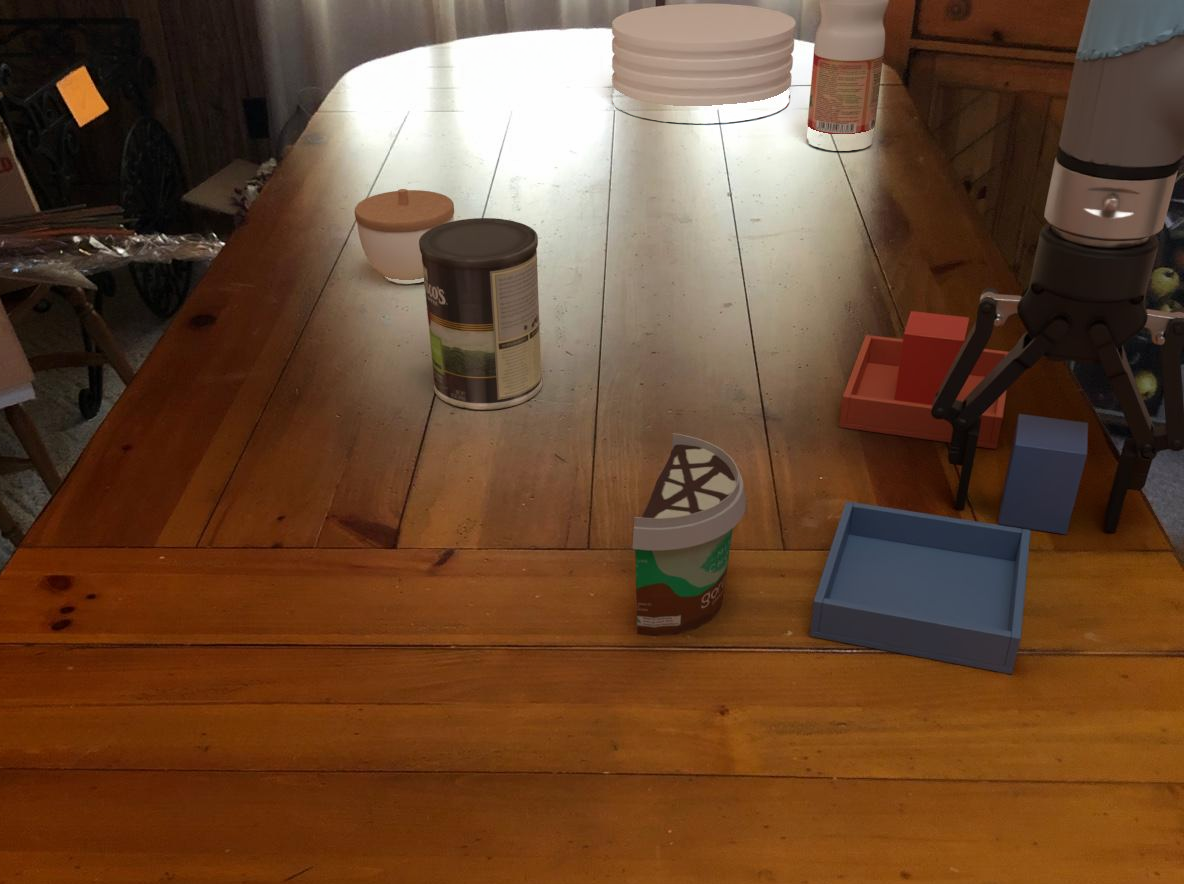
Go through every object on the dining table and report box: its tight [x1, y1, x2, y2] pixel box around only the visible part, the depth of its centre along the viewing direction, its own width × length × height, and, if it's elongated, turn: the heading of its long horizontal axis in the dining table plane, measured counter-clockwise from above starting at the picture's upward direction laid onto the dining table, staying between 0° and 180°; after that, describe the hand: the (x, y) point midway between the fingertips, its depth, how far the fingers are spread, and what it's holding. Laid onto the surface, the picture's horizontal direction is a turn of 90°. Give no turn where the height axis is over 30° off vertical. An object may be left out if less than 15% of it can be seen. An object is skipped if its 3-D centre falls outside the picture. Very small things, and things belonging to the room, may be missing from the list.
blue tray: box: [809, 501, 1032, 675], centre depth 85 cm, size 13×13×3 cm
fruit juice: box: [807, 0, 890, 134], centre depth 165 cm, size 9×9×28 cm
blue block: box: [997, 413, 1089, 536], centre depth 92 cm, size 5×5×7 cm
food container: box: [631, 432, 747, 636], centre depth 83 cm, size 12×6×10 cm, turn 164°
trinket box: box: [354, 188, 455, 280], centre depth 134 cm, size 11×11×9 cm
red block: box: [894, 310, 970, 405], centre depth 107 cm, size 5×5×7 cm
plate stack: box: [611, 3, 797, 106], centre depth 190 cm, size 28×28×12 cm
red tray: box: [838, 334, 1010, 450], centre depth 108 cm, size 13×13×3 cm
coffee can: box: [419, 217, 544, 411], centre depth 110 cm, size 10×10×14 cm
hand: (1034, 510), depth 94 cm, fingers open, 10 cm apart
